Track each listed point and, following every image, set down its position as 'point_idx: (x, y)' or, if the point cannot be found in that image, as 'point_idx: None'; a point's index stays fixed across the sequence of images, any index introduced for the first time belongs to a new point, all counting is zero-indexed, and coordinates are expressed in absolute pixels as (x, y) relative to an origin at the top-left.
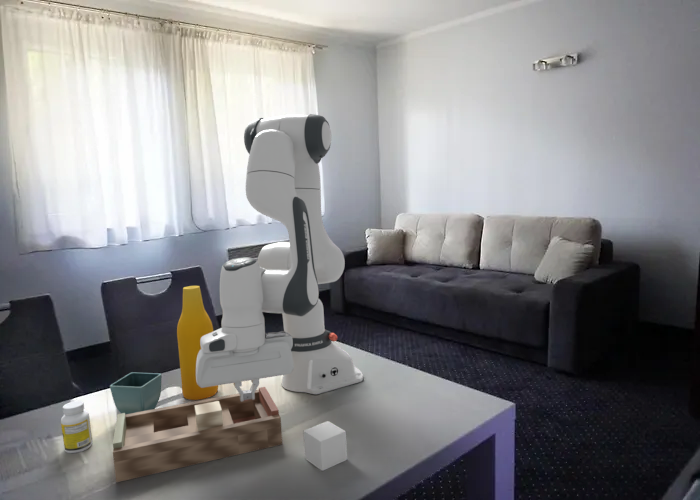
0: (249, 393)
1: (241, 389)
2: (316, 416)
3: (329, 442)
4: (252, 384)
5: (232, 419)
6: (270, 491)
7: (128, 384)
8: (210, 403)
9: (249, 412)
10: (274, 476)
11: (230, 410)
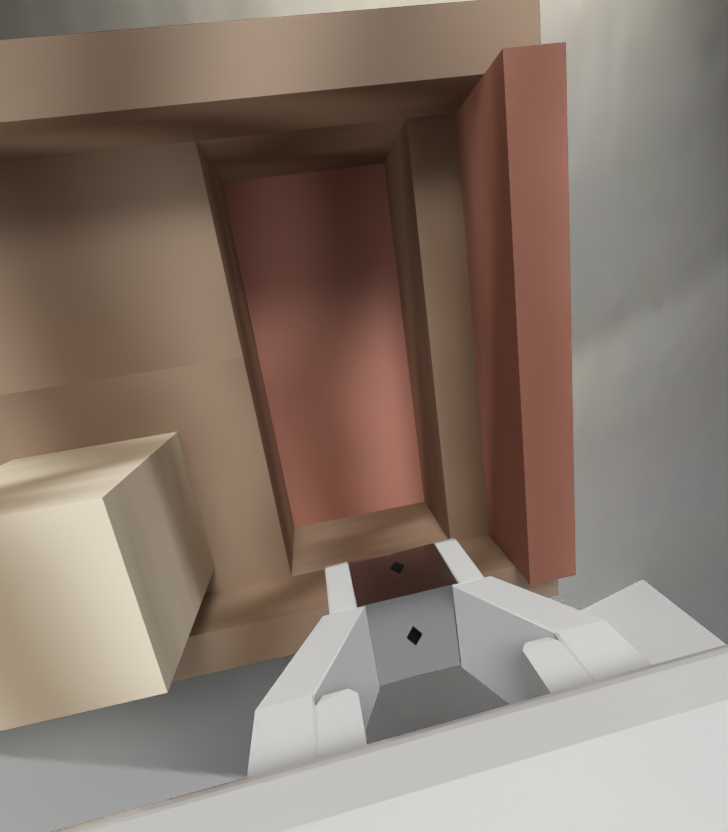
0: (436, 660)
1: (358, 630)
2: (690, 284)
3: None
4: (511, 625)
5: (246, 177)
6: None
7: None
8: (18, 542)
9: (359, 155)
10: (425, 711)
11: (226, 154)
